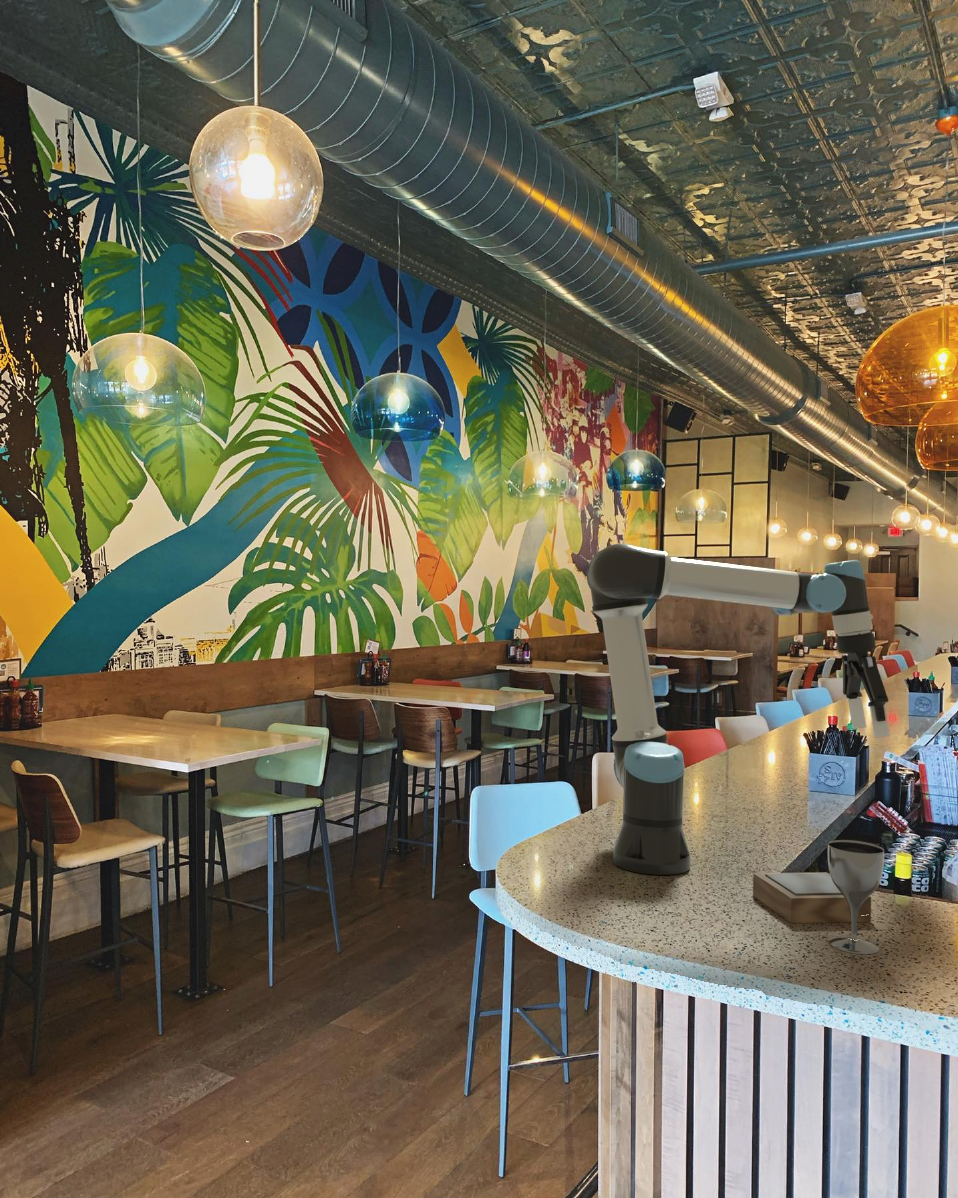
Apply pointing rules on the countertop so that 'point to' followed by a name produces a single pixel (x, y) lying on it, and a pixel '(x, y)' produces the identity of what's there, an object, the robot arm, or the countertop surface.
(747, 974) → the countertop surface
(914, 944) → the countertop surface
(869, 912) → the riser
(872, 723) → the robot arm
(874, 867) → the wine glass
